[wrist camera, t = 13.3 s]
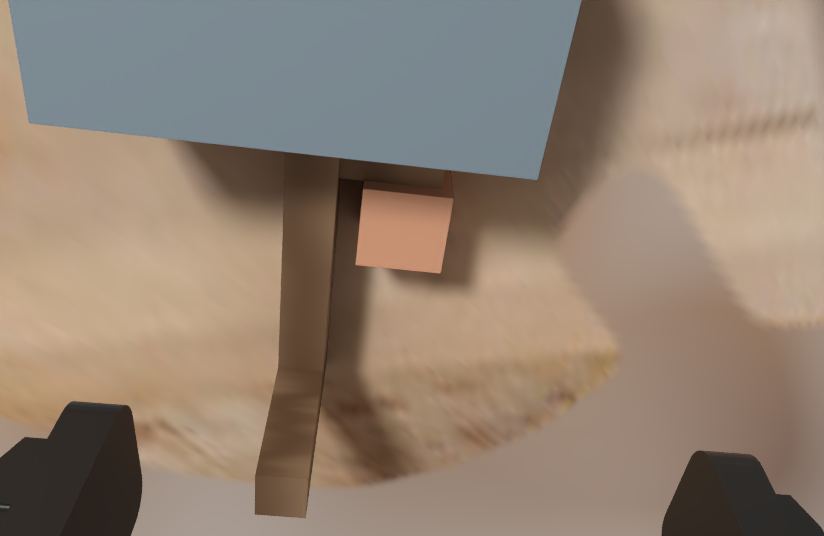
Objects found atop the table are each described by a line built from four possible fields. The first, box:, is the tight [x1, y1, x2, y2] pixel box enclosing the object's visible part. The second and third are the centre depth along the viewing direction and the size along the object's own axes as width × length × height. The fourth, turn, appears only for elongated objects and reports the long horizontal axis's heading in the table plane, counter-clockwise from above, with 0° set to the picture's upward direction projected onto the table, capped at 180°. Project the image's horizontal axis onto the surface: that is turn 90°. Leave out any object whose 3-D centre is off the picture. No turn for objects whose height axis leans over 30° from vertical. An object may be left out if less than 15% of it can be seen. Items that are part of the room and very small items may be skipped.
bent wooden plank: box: [255, 152, 445, 518], centre depth 39 cm, size 8×17×12 cm, turn 173°
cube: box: [356, 170, 454, 273], centre depth 40 cm, size 4×4×4 cm
